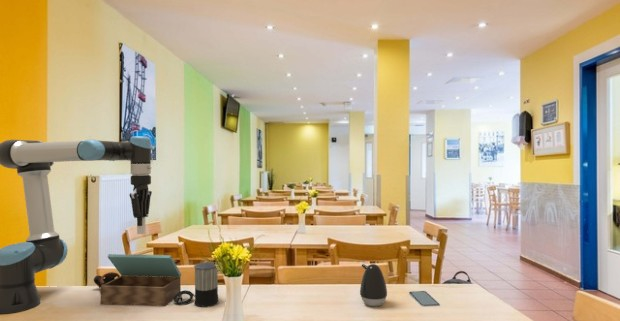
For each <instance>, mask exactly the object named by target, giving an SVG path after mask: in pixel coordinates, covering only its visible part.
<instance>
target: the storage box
mask: <svg viewBox="0 0 620 321" xmlns="http://www.w3.org/2000/svg"><path fill="white" fill-rule="evenodd" d="M99 289H100V305H106V306H107V305H113V306H115V305H116V306H140V307H141V306H143V307H144V306H145V307H147V306H148V307H166V306H167V305H168V304H170V303H171V302H172V301H174V296H175V295H176V294H177V293H178V292H180V291H182V288H181V277H157V276H121V275H120V277H115V279H114V280H112V281H110V282H108V283H106V284H104V285H102V286H100V288H99Z"/></svg>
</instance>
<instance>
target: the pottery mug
mask: <svg viewBox="0 0 620 321" xmlns="http://www.w3.org/2000/svg"><path fill="white" fill-rule="evenodd" d="M120 276H121V274H120V273H117V272H113V271H112V272H111V271H110V272H106V273H104V274H103V275H96V276H94V278H93V283H94V284H95V285H97V286H98V288H99V289H100V286H102V285H104V284H106V283H108V282H110V281H112V280H114V279H116V278H118V277H120Z"/></svg>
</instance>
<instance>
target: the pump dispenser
mask: <svg viewBox="0 0 620 321" xmlns="http://www.w3.org/2000/svg"><path fill="white" fill-rule="evenodd" d="M361 267H362V268H363V269H364V272H363V275H362V277H361V278H362V279H361V282H360V288H359V295H360V297H361V300H362V302H363V303H364V304H365V305H366V306H368V307H369V306H370V307H379V306H381V305H383V304H384V303H385V302H386V299H387V297H388V290H387V288H388V287H387V284H386V279H385V276H384V274H383V271H382V269H381V268H380V266H379V265H378V264H376V263H371V264H369V265H368V266H367V265H366V264H364V263H362V264H361Z"/></svg>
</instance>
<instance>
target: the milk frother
mask: <svg viewBox="0 0 620 321" xmlns="http://www.w3.org/2000/svg"><path fill="white" fill-rule="evenodd" d="M214 263H215V262H214V261H213V262H212V261H207V262H206V261H204V262H200V263H196V264H194V265H193V267H194V293H193V292H192V291H190V290H186V289H185V290H181V291H180V292H178V293H177V294H176V295H175V296H174V299H173V302H174V303H175V304H177V305H187V304H189V303H190V302H192V301H193V299H194V303H193V304H194V305H195V306H196V307H198V308H199V307H200V308H206V307H208V308H209V307H212V306H215V305H217V304H218V303H219V294H218V292H219V291H218V290H219V288H218V287H219V286H218V285H219V282H218V281H219V280H218V277H219V276H218V274H219V272H218V267H217V268H216V266H215V264H214ZM183 295H187V296H189V298H188V299H187V300H183Z"/></svg>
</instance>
